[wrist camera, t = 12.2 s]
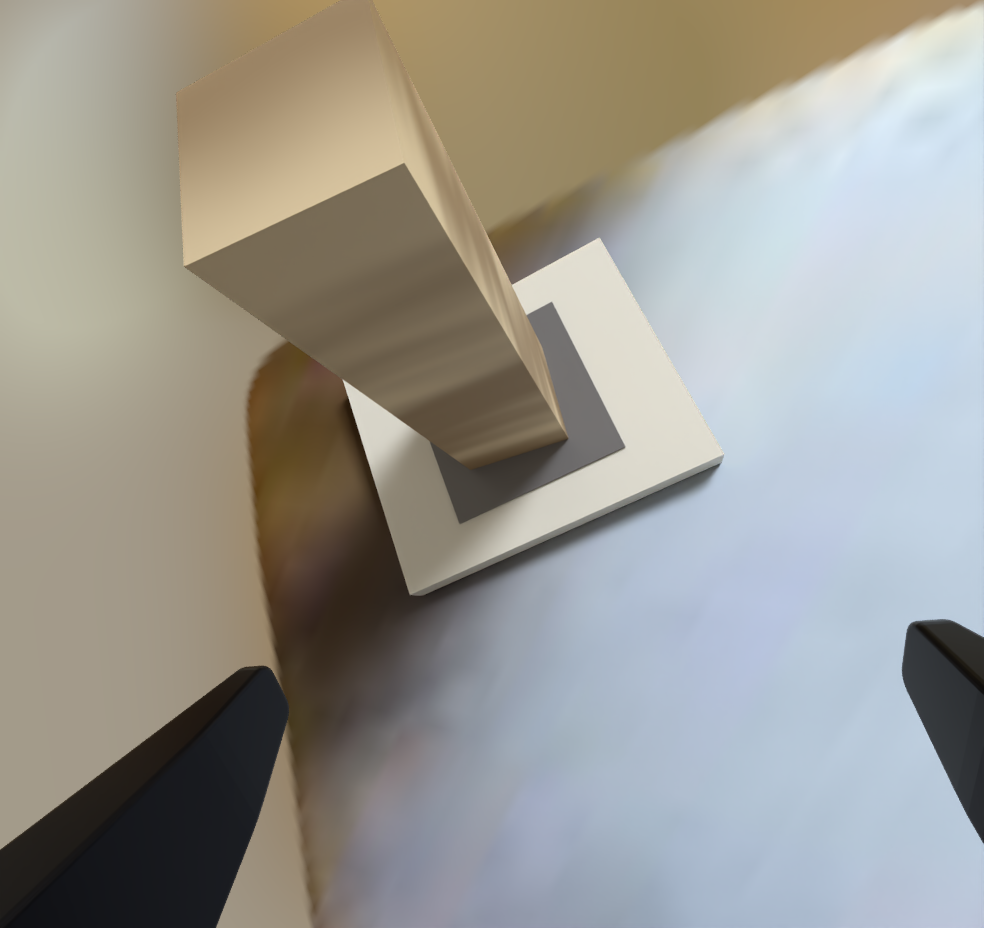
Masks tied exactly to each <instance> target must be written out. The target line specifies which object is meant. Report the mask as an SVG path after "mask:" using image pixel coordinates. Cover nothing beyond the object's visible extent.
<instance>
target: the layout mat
mask: <svg viewBox="0 0 984 928" xmlns="http://www.w3.org/2000/svg"><path fill="white" fill-rule="evenodd" d="M512 287H513V289H514V291H515V293H516V295H517V297H518V299H519V301H520V303H521V305H522V307H523V309H524V311H525V314H526V316H527V318H528V320H529V322H530V324H531V326H532V328H533V330H534V332H535V334H536V336H537V338H538V340H539V342H540V344H541V346H542V349H543V352H544V355H545V359H546V362H547V366H548V369H549V373H550V376H551V380H552V383H553V387H554V390H555V394H556V397H557V400H558V404H559V407H560V411H561V414H562V418H563V421H564V425H565V428H566V432H567V435H568V439H566V440H563V441H560V442H557V443H554V444H550V445H547V446H544V447H541V448H538V449H535V450H532V451H529V452H526V453H522V454H519V455H516V456H513V457H510V458H507V459H504V460H501V461H497V462H494V463H491V464H488V465H485V466H482V467H479V468H476V469H472V470H470V469H468V468H467V467H466V466H464V465H463V464H461V463H460V462H458V461H457V460H456V459H454V458H453V457H451V456H450V455H449V454H447V453H446V452H444V451H443V450H442V449H440V448H439V447H437V446H436V445H435V444H433V443H432V442H430V441H429V440H427V439H426V438H425V437H423V436H422V435H420V434H419V433H418V432H416V431H415V430H413V429H412V428H411V427H409V426H408V425H406V424H405V423H404V422H402V421H401V420H399V419H398V418H396V417H395V416H394V415H392V414H391V413H389V412H388V411H387V410H385V409H384V408H382V407H381V406H380V405H378V404H377V403H375V402H374V401H373V400H371V399H370V398H368V397H367V396H365V395H364V394H363V393H361V392H360V391H358V390H357V389H356V388H354V387H353V386H351V385H350V384H349V383H347V382H346V381H344V380H343V382H344V385H345V388H346V391H347V395H348V398H349V401H350V404H351V407H352V411H353V414H354V417H355V420H356V424H357V427H358V430H359V433H360V436H361V440H362V443H363V446H364V449H365V453H366V456H367V459H368V462H369V465H370V469H371V472H372V475H373V478H374V481H375V485H376V488H377V491H378V494H379V498H380V501H381V504H382V507H383V510H384V514H385V517H386V520H387V523H388V526H389V530H390V533H391V536H392V539H393V543H394V546H395V549H396V552H397V555H398V559H399V562H400V565H401V568H402V572H403V575H404V578H405V581H406V584H407V588H408V591H409V594H410V595H418V596H423V595H425V594H427V593H430V592H432V591H434V590H436V589H439V588H441V587H443V586H445V585H448V584H450V583H452V582H454V581H457V580H459V579H461V578H463V577H466V576H468V575H470V574H472V573H475V572H477V571H479V570H481V569H484V568H486V567H488V566H490V565H493V564H495V563H497V562H499V561H502V560H504V559H506V558H508V557H511V556H513V555H515V554H517V553H520V552H522V551H524V550H526V549H529V548H531V547H533V546H535V545H538V544H540V543H542V542H544V541H547V540H549V539H551V538H553V537H556V536H558V535H560V534H562V533H565V532H567V531H569V530H571V529H574V528H576V527H578V526H580V525H583V524H585V523H587V522H589V521H591V520H594V519H596V518H598V517H600V516H603V515H605V514H607V513H609V512H612V511H614V510H616V509H618V508H621V507H623V506H625V505H627V504H630V503H632V502H634V501H636V500H639V499H641V498H643V497H645V496H648V495H650V494H652V493H654V492H657V491H659V490H661V489H663V488H666V487H668V486H670V485H672V484H675V483H677V482H679V481H681V480H684V479H686V478H688V477H690V476H693V475H695V474H697V473H699V472H702V471H704V470H706V469H708V468H711V467H713V466H715V465H717V464H720V463H722V460H723V457H724V453H723V451H722V449H721V447H720V446H719V444H718V442H717V440H716V439H715V437H714V435H713V433H712V432H711V430H710V428H709V427H708V425H707V423H706V421H705V420H704V418H703V416H702V414H701V413H700V411H699V409H698V407H697V406H696V404H695V402H694V401H693V399H692V397H691V395H690V394H689V392H688V390H687V388H686V387H685V385H684V383H683V381H682V380H681V378H680V376H679V375H678V373H677V371H676V369H675V368H674V366H673V364H672V362H671V361H670V359H669V357H668V355H667V354H666V352H665V350H664V349H663V347H662V345H661V343H660V342H659V340H658V338H657V336H656V335H655V333H654V331H653V329H652V328H651V326H650V324H649V322H648V321H647V319H646V317H645V316H644V314H643V312H642V310H641V309H640V307H639V305H638V303H637V302H636V300H635V298H634V296H633V295H632V293H631V291H630V290H629V288H628V286H627V284H626V283H625V281H624V279H623V277H622V276H621V274H620V272H619V270H618V269H617V267H616V265H615V264H614V262H613V260H612V258H611V257H610V255H609V253H608V251H607V250H606V248H605V246H604V244H603V243H602V241H601V239H600V238H598V239H596V240H594V241H592V242H591V243H589V244H587V245H585V246H583V247H581V248H579V249H578V250H576V251H574V252H572V253H570V254H568V255H567V256H565V257H563V258H561V259H559V260H557V261H555V262H554V263H552V264H550V265H548V266H546V267H544V268H543V269H541V270H539V271H537V272H535V273H533V274H531V275H530V276H528V277H526V278H524V279H522V280H520V281H519V282H517V283H515V284H513V285H512Z"/></svg>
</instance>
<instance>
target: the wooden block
mask: <svg viewBox="0 0 984 928" xmlns="http://www.w3.org/2000/svg"><path fill="white" fill-rule="evenodd" d="M176 101H177V123H178V144H179V145H178V146H179V168H180V191H181V213H182V235H183V255H184V257H183V258H184V267H185V268H187V269H188V270H190V271H191V272H192V273H194V274H195V275H196V276H198V277H199V278H201V279H202V280H204V281H205V282H206V283H208V284H209V285H211V286H212V287H213V288H215V289H216V290H218V291H219V292H220V293H222V294H223V295H225V296H226V297H228V298H229V299H230V300H232V301H233V302H235V303H236V304H237V305H239V306H240V307H242V308H243V309H244V310H246V311H247V312H249V313H250V314H251V315H253V316H254V317H256V318H257V319H258V320H260V321H261V322H263V323H264V324H265V325H267V326H268V327H270V328H271V329H272V330H274V331H275V332H277V333H278V334H280V335H281V336H282V337H284V338H285V339H287V340H288V341H289V342H291V343H292V344H294V345H295V346H296V347H298V348H299V349H301V350H302V351H303V352H305V353H306V354H308V355H309V356H311V357H312V358H313V359H315V360H316V361H318V362H319V363H320V364H322V365H323V366H325V367H326V368H327V369H329V370H330V371H332V372H333V373H334V374H336V375H337V376H339V377H340V378H342V379H343V380H344V381H346V382H347V383H349V384H350V385H351V386H353V387H354V388H356V389H357V390H358V391H360V392H361V393H363V394H364V395H365V396H367V397H368V398H370V399H371V400H373V401H374V402H375V403H377V404H378V405H380V406H381V407H382V408H384V409H385V410H387V411H388V412H389V413H391V414H392V415H394V416H395V417H396V418H398V419H399V420H401V421H402V422H404V423H405V424H406V425H408V426H409V427H411V428H412V429H413V430H415V431H416V432H418V433H419V434H420V435H422V436H423V437H425V438H426V439H427V440H429V441H430V442H432V443H433V444H435V445H436V446H437V447H439V448H440V449H442V450H443V451H444V452H446V453H447V454H449V455H450V456H451V457H453V458H454V459H456V460H457V461H458V462H460V463H461V464H463V465H464V466H466V467H467V468H468V469H470V470H472V469H476V468H479V467H482V466H485V465H488V464H491V463H494V462H497V461H501V460H504V459H507V458H510V457H513V456H516V455H519V454H522V453H526V452H529V451H532V450H535V449H538V448H541V447H544V446H547V445H550V444H554V443H557V442H560V441H563V440H566V439H568V435H567V432H566V428H565V425H564V421H563V418H562V414H561V411H560V407H559V404H558V400H557V397H556V394H555V390H554V387H553V383H552V380H551V376H550V373H549V369H548V366H547V362H546V359H545V355H544V352H543V349H542V346H541V344H540V342H539V340H538V338H537V336H536V334H535V332H534V330H533V328H532V326H531V324H530V322H529V320H528V318H527V316H526V314H525V311H524V309H523V307H522V305H521V303H520V301H519V299H518V297H517V295H516V293H515V291H514V289H513V287H512V285H511V283H510V281H509V279H508V277H507V275H506V273H505V271H504V269H503V267H502V265H501V263H500V260H499V258H498V256H497V254H496V252H495V250H494V248H493V246H492V244H491V242H490V240H489V238H488V236H487V234H486V232H485V230H484V228H483V226H482V224H481V222H480V220H479V218H478V216H477V214H476V211H475V209H474V207H473V205H472V204H471V201H470V200H469V197H468V195H467V193H466V191H465V189H464V187H463V185H462V183H461V181H460V179H459V177H458V175H457V173H456V171H455V169H454V167H453V165H452V163H451V161H450V158H449V157H448V154H447V152H446V150H445V148H444V146H443V144H442V142H441V140H440V138H439V136H438V134H437V132H436V130H435V128H434V126H433V124H432V122H431V120H430V118H429V116H428V114H427V111H426V109H425V107H424V105H423V103H422V101H421V99H420V97H419V95H418V93H417V91H416V89H415V87H414V85H413V83H412V81H411V79H410V77H409V75H408V73H407V71H406V69H405V67H404V65H403V63H402V61H401V59H400V57H399V54H398V52H397V50H396V48H395V46H394V44H393V42H392V40H391V38H390V36H389V34H388V32H387V30H386V28H385V26H384V24H383V22H382V20H381V18H380V16H379V14H378V12H377V10H376V8H375V5H374V3H373V1H372V0H340V1H339V2H337V3H335V4H333V5H331V6H330V7H328V8H326V9H324V10H322V11H321V12H319V13H317V14H315V15H314V16H312V17H310V18H308V19H307V20H305V21H303V22H301V23H299V24H298V25H296V26H294V27H292V28H291V29H289V30H287V31H285V32H283V33H282V34H280V35H278V36H276V37H275V38H273V39H271V40H269V41H268V42H266V43H264V44H262V45H260V46H259V47H257V48H255V49H253V50H252V51H250V52H248V53H246V54H244V55H242V56H241V57H239V58H237V59H235V60H234V61H232V62H230V63H228V64H226V65H225V66H223V67H221V68H220V69H218V70H216V71H214V72H212V73H210V74H209V75H207V76H205V77H203V78H201V79H200V80H198V81H196V82H194V83H193V84H191V85H189V86H187V87H185V88H184V89H182V90H180V91H178V92H177V93H176Z"/></svg>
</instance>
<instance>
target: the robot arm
mask: <svg viewBox="0 0 984 928" xmlns="http://www.w3.org/2000/svg"><path fill="white" fill-rule="evenodd" d="M902 676H903V681H904V684H905V687H906V689H907V692H908V694H909V696H910V698H911V700H912V702H913V704H914V706H915V708H916V711H917V713H918V715H919V717H920V719H921V721H922V723H923V725H924V727H925V729H926V731H927V734H928V736H929V738H930V740H931V742H932V744H933V746H934V748H935V750H936V752H937V754H938V757H939V759H940V761H941V763H942V765H943V767H944V769H945V771H946V773H947V775H948V777H949V780H950V782H951V784H952V786H953V788H954V790H955V792H956V794H957V796H958V798H959V800H960V802H961V804H962V806H963V808H964V810H965V812H966V814H967V816H968V818H969V819H970V821H971V823H972V824H973V826H974V828H975V830H976V831H977V833H978V835H979V837H980V838H981V840H982V842H983V843H984V637H982V636H980V635H978V634H976V633H975V632H973V631H971V630H969V629H967V628H965V627H963V626H962V625H960V624H958V623H956V622H953V621H951V620H946V619H939V620H924V621H915V622H912V623H911V624H910V625H909V626H908V629H907V633H906V640H905V648H904V656H903V663H902ZM288 714H289V705H288V701H287V699H286V697H285V695H284V693H283V691H282V689H281V687H280V685H279V683H278V681H277V679H276V677H275V675H274V673H273V672H272V670H271V669H270V668H268V667H266V666H254V667H244V668H241V669H239V670H238V671H236V672H235V673H234V674H233V675H231V676H230V677H228V678H227V679H226V680H225V681H223V682H222V683H220V684H219V685H218V686H216V687H215V688H214V689H213V690H211V691H210V692H209V693H207V694H206V695H205V696H203V697H202V698H201V699H199V700H198V701H197V702H195V703H194V704H193V705H191V706H190V707H189V708H187V709H186V710H185V711H183V712H182V713H181V714H179V715H178V716H177V717H175V718H174V719H173V720H172V721H170V722H169V723H168V724H166V725H165V726H164V727H162V728H161V729H160V730H158V731H157V732H156V733H154V734H153V735H152V736H150V737H149V738H148V739H146V740H145V741H144V742H142V743H141V744H140V745H138V746H137V747H136V748H134V749H133V750H132V751H131V752H129V753H128V754H126V755H125V756H124V757H122V758H121V759H120V760H118V761H117V762H116V763H115V764H113V765H112V766H110V767H109V768H108V769H107V770H105V771H104V772H103V773H101V774H100V775H99V776H97V777H96V778H95V779H93V780H92V781H91V782H89V783H88V784H87V785H85V786H84V787H83V788H81V789H80V790H79V791H77V792H76V793H75V794H73V795H72V796H71V797H69V798H68V799H67V800H65V801H64V802H63V803H61V804H60V805H59V806H58V807H56V808H55V809H54V810H52V811H51V812H50V813H48V814H47V815H46V816H44V817H43V818H42V819H40V820H39V821H38V822H36V823H35V824H34V825H32V826H31V827H30V828H28V829H27V830H26V831H24V832H23V833H22V834H21V835H19V836H18V837H16V838H15V839H14V840H13V841H11V842H10V843H9V844H7V845H6V846H4V847H3V848H2V849H1V850H0V928H216V926H217V924H218V921H219V919H220V916H221V913H222V911H223V908H224V906H225V903H226V900H227V898H228V895H229V893H230V890H231V888H232V885H233V883H234V880H235V878H236V875H237V872H238V869H239V867H240V865H241V862H242V860H243V857H244V854H245V852H246V849H247V847H248V844H249V841H250V839H251V836H252V834H253V831H254V828H255V826H256V823H257V820H258V817H259V814H260V811H261V807H262V805H263V802H264V798H265V795H266V791H267V788H268V785H269V781H270V778H271V774H272V771H273V767H274V764H275V761H276V757H277V754H278V751H279V747H280V744H281V740H282V737H283V733H284V730H285V727H286V723H287V720H288Z"/></svg>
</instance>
